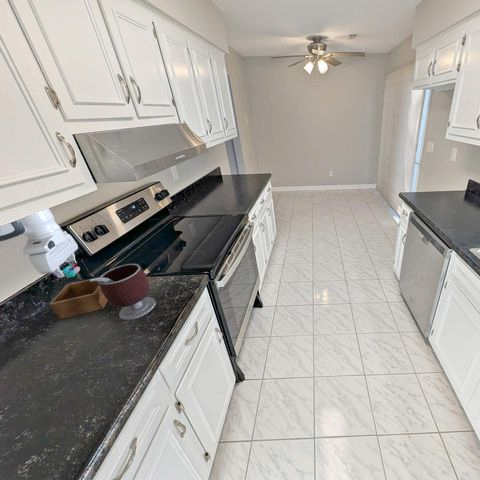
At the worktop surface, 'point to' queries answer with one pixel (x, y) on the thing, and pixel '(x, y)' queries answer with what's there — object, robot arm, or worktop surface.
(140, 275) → the mate gourd
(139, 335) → the worktop surface
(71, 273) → the anatomy model
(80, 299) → the crate
